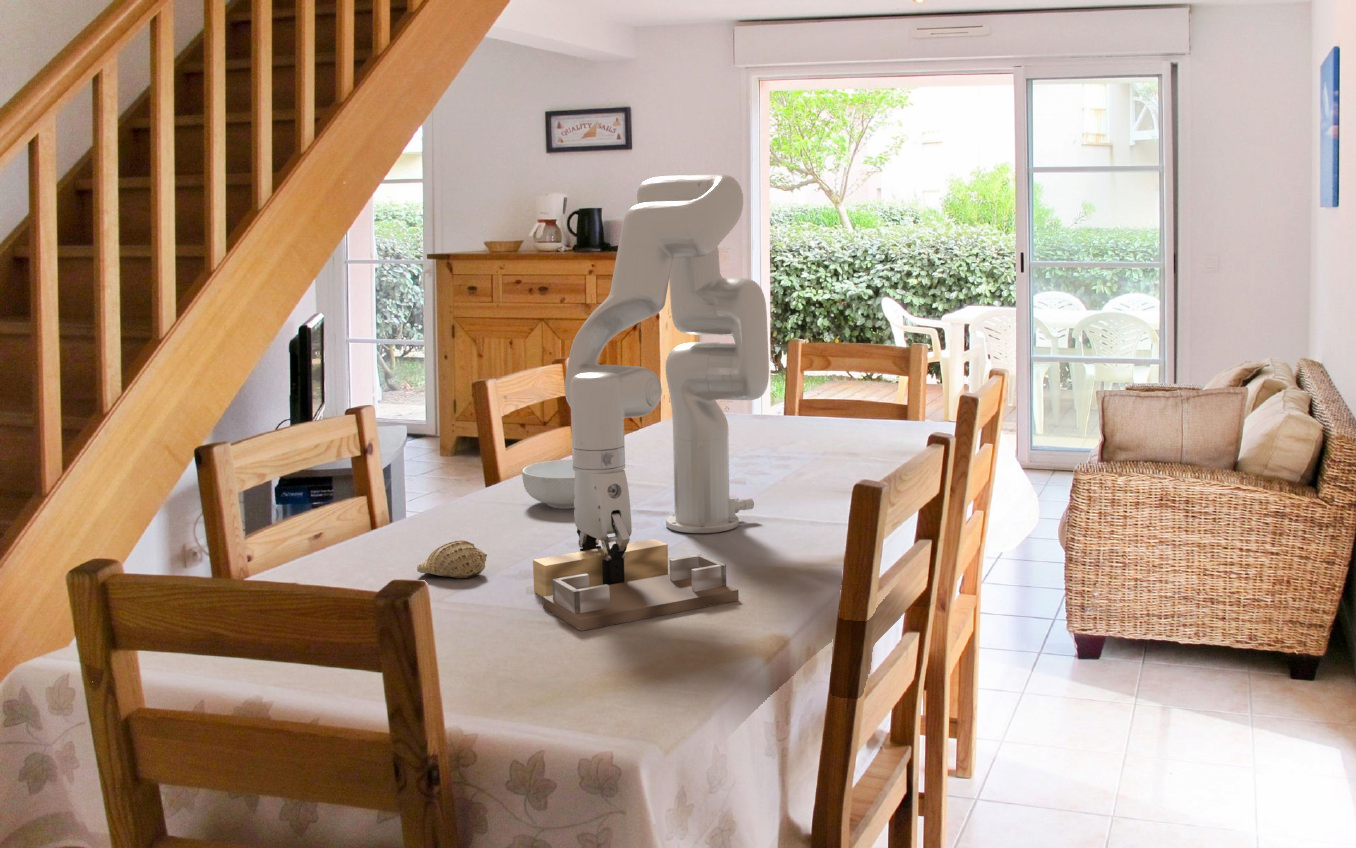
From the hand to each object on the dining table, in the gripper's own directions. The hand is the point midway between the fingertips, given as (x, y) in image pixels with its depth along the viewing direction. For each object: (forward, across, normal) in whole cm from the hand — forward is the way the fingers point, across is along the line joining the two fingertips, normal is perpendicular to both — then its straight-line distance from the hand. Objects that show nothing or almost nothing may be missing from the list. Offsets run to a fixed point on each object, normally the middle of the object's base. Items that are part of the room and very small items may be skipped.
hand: (602, 578), depth 181 cm
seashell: (+1, +16, +17) cm, 24 cm away
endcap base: (+1, -12, 0) cm, 12 cm away
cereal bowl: (+1, +51, -18) cm, 54 cm away
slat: (+1, 0, 0) cm, 1 cm away
